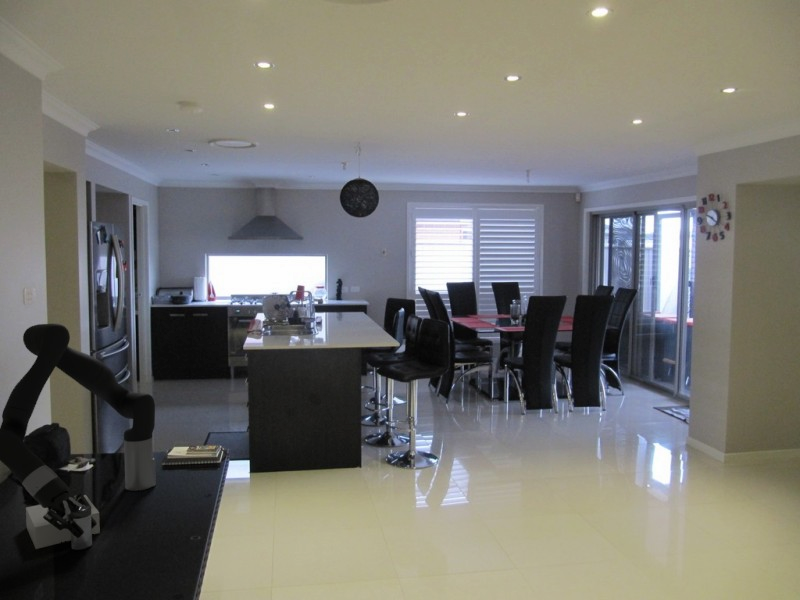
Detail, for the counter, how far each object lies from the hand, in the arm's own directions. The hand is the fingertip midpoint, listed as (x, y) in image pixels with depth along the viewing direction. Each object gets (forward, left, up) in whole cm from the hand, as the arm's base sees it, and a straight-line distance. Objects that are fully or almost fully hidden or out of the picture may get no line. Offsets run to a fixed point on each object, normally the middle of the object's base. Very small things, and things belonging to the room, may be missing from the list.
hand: (87, 530), depth 166 cm
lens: (+1, -1, -4) cm, 5 cm away
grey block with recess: (+3, -17, -5) cm, 18 cm away
